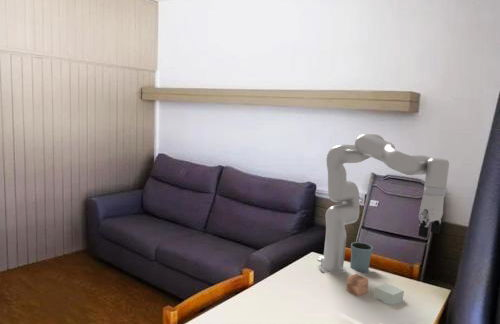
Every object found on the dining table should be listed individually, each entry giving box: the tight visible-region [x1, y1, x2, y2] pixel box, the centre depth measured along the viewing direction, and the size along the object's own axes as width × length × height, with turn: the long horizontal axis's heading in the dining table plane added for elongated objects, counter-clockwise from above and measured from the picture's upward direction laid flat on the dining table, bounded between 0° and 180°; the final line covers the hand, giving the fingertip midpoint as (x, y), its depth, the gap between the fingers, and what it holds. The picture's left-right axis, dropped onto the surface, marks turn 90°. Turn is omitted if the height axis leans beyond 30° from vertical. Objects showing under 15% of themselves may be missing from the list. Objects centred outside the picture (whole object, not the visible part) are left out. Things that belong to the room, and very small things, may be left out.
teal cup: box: [349, 241, 374, 274], centre depth 196 cm, size 10×10×12 cm
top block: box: [345, 273, 369, 297], centre depth 168 cm, size 6×6×6 cm
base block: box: [373, 282, 404, 306], centre depth 164 cm, size 8×8×4 cm
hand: (428, 234), depth 156 cm, fingers open, 9 cm apart
